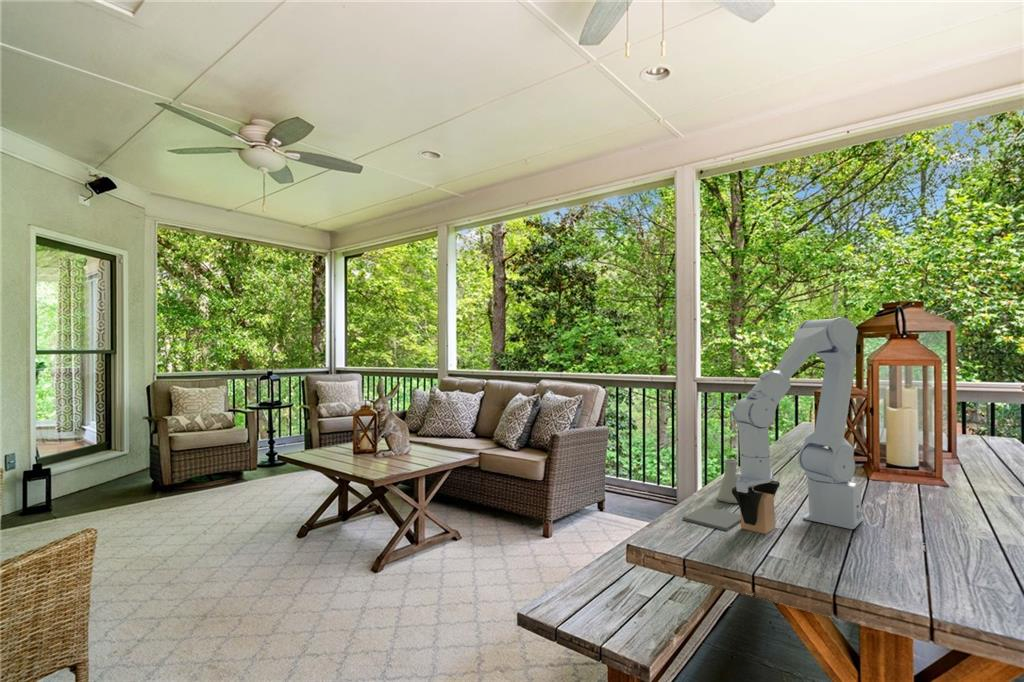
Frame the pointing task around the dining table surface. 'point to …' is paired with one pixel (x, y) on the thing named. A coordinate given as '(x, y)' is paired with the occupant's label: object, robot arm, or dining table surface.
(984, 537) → the dining table surface
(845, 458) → the robot arm
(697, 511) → the mat
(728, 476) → the flask
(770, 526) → the light orange block
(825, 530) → the dining table surface
